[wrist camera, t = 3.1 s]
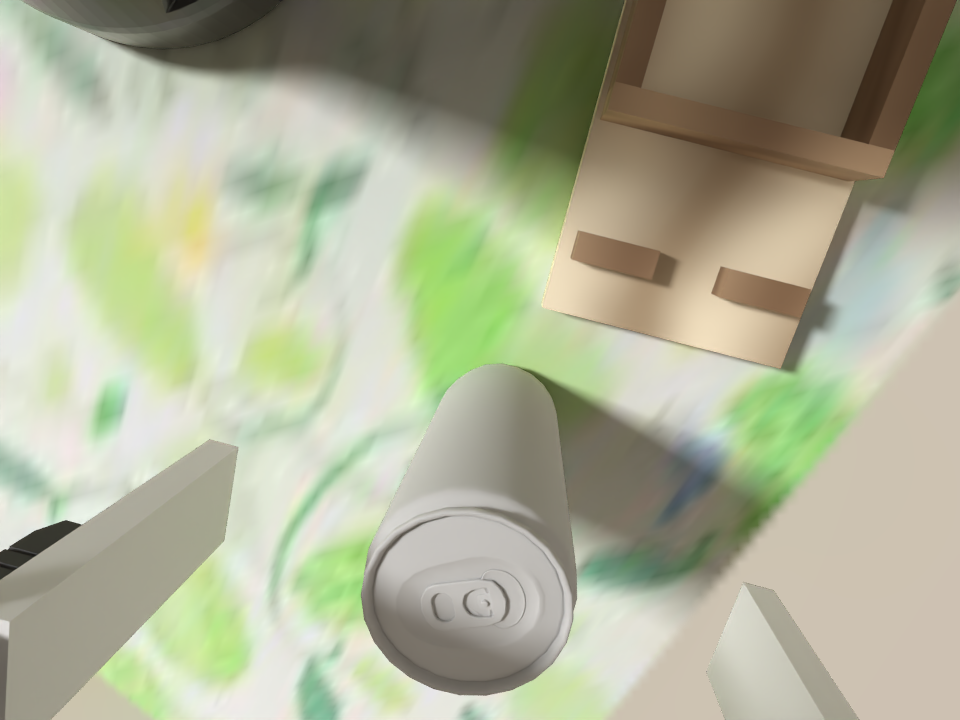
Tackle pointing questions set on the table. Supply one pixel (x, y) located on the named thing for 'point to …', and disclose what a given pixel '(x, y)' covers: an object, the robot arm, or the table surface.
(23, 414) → the table surface
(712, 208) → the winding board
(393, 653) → the beverage can
